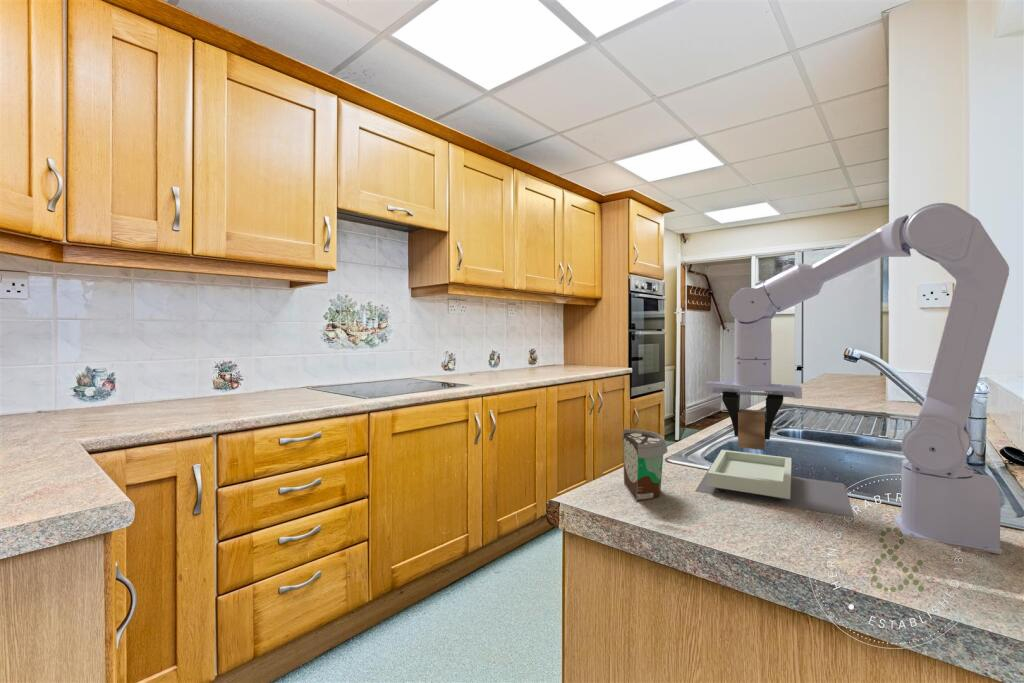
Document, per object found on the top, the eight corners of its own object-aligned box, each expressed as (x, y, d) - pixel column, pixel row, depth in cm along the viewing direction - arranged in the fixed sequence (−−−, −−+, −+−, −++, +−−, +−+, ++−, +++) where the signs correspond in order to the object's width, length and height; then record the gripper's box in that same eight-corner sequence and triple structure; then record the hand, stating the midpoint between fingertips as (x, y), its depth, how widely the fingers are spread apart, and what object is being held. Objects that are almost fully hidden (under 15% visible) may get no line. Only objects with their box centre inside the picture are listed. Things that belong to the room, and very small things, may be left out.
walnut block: (765, 444, 81) (765, 410, 81) (764, 450, 77) (764, 414, 77) (740, 442, 83) (740, 408, 83) (737, 447, 79) (738, 412, 79)
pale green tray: (791, 476, 86) (791, 457, 86) (790, 506, 72) (790, 484, 72) (721, 466, 93) (721, 449, 93) (707, 492, 78) (707, 472, 78)
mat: (843, 486, 82) (844, 483, 82) (853, 520, 68) (853, 517, 68) (710, 467, 94) (710, 465, 94) (695, 493, 79) (695, 491, 79)
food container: (678, 507, 73) (678, 445, 73) (639, 507, 74) (638, 445, 73) (655, 481, 86) (655, 428, 86) (622, 481, 86) (622, 428, 86)
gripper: (801, 358, 80) (801, 436, 80) (710, 356, 87) (710, 428, 88) (802, 361, 74) (801, 445, 74) (704, 358, 81) (704, 435, 81)
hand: (752, 436), depth 80 cm, fingers closed on walnut block, 4 cm apart
